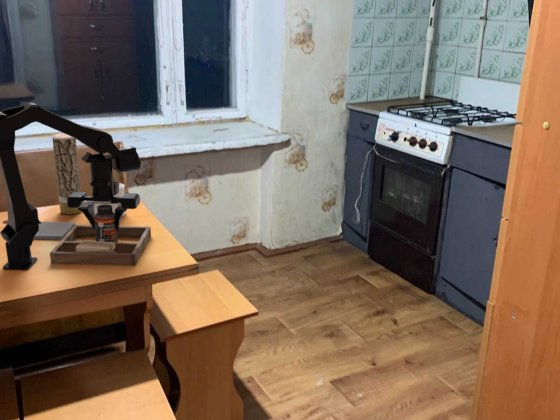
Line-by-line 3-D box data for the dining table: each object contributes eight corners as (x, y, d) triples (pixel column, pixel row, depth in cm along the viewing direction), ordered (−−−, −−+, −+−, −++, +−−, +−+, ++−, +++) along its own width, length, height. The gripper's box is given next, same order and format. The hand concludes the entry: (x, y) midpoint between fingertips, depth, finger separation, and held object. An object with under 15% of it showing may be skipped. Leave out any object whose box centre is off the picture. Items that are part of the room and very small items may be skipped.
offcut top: (109, 254, 155) (108, 249, 155) (76, 252, 156) (75, 246, 156) (115, 247, 159) (115, 242, 159) (83, 245, 160) (82, 240, 160)
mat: (62, 239, 170) (62, 236, 169) (23, 238, 169) (23, 235, 169) (74, 225, 180) (74, 222, 180) (38, 224, 180) (38, 221, 179)
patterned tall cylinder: (75, 216, 187) (68, 138, 179) (56, 214, 189) (47, 137, 180) (86, 209, 194) (79, 133, 185) (67, 207, 195) (59, 132, 186)
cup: (91, 211, 191) (89, 183, 188) (123, 208, 195) (121, 180, 192) (96, 221, 183) (93, 192, 180) (129, 217, 187) (127, 188, 184)
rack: (135, 265, 155) (134, 255, 154) (50, 263, 155) (49, 253, 154) (151, 236, 174) (150, 226, 172) (75, 234, 173) (74, 224, 172)
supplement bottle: (105, 250, 163) (102, 211, 160) (91, 244, 167) (88, 206, 163) (122, 243, 168) (120, 206, 164) (109, 238, 171) (106, 201, 167)
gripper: (142, 168, 168) (145, 219, 173) (77, 166, 168) (81, 218, 173) (133, 179, 158) (137, 234, 163) (63, 178, 157) (69, 232, 163)
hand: (106, 229), depth 166 cm, fingers closed on supplement bottle, 6 cm apart
